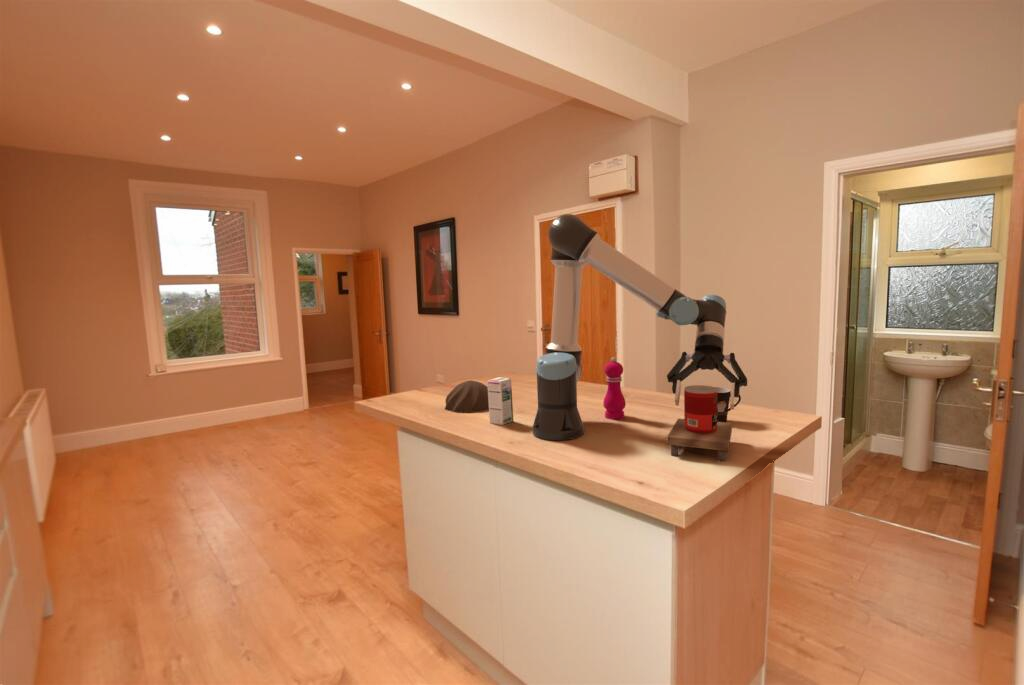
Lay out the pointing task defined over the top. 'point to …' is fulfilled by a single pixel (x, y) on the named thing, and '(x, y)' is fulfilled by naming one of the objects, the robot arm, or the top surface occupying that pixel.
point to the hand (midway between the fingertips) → (703, 404)
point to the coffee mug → (723, 403)
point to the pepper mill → (614, 391)
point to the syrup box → (500, 400)
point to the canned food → (700, 408)
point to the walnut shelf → (700, 438)
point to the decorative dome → (468, 397)
